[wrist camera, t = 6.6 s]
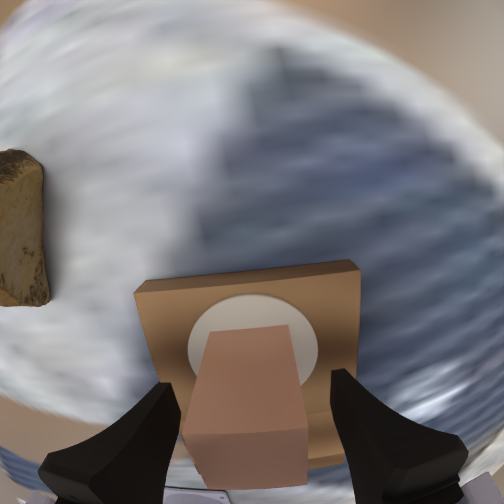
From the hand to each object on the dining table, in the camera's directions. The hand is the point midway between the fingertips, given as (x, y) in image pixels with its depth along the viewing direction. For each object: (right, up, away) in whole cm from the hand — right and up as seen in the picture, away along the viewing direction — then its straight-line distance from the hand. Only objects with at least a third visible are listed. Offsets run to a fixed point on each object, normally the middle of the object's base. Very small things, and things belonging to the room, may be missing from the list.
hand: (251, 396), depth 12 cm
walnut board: (+1, -3, +7) cm, 7 cm away
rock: (-16, +8, +4) cm, 18 cm away
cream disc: (0, +1, +4) cm, 4 cm away
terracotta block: (0, +1, +3) cm, 3 cm away
